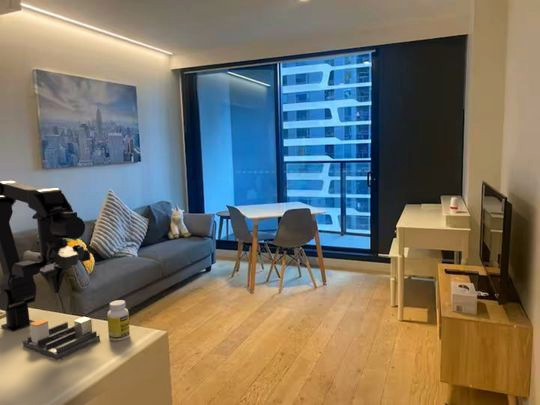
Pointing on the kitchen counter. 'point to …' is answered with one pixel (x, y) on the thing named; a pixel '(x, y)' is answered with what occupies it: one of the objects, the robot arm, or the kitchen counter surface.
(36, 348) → the breaker panel
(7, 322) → the robot arm
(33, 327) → the block
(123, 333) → the supplement bottle
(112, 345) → the kitchen counter surface
